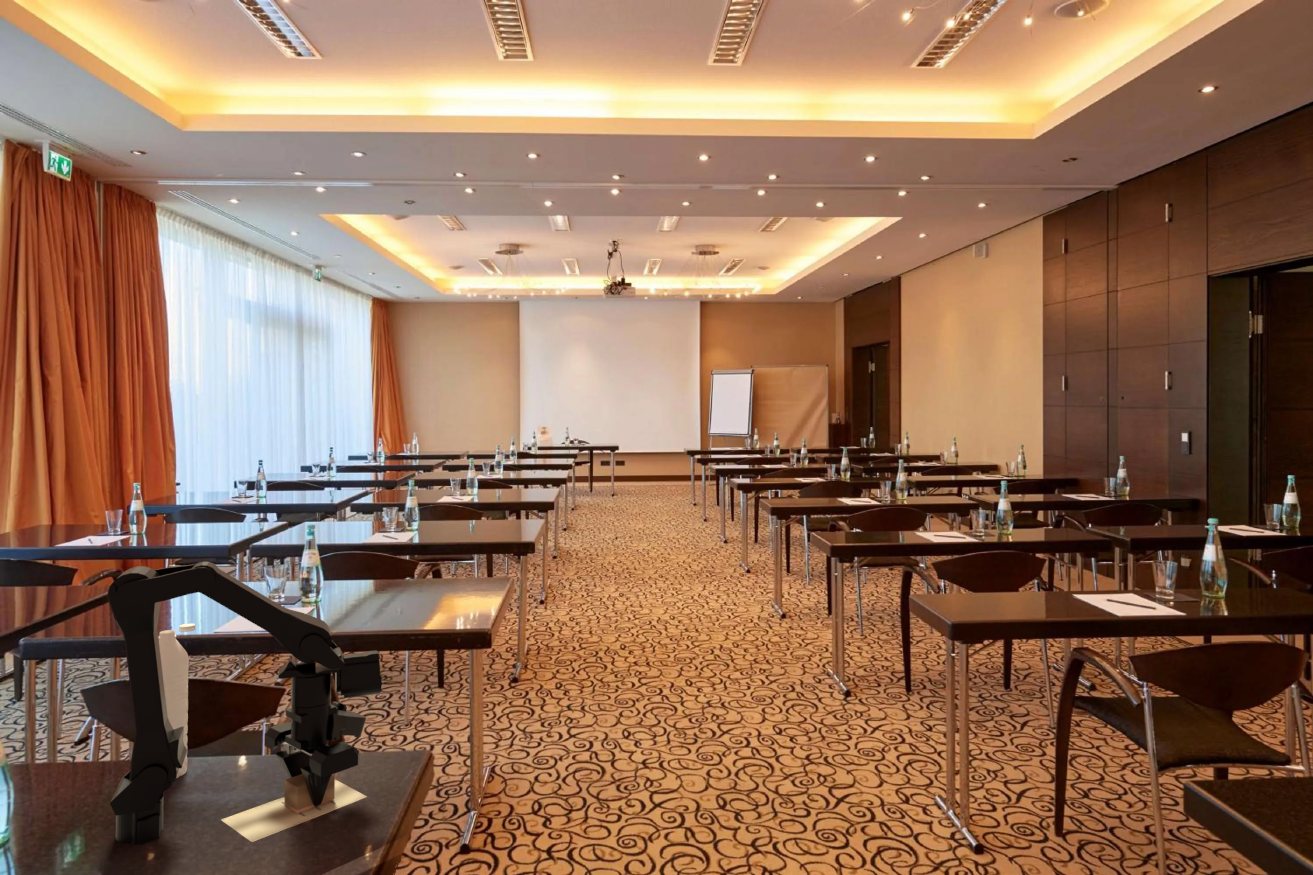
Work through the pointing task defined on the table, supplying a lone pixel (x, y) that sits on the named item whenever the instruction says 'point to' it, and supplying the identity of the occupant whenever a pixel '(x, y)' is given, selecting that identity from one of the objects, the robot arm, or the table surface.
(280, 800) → the birch board
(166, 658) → the water bottle
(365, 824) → the table surface
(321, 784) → the robot arm
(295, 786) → the block
